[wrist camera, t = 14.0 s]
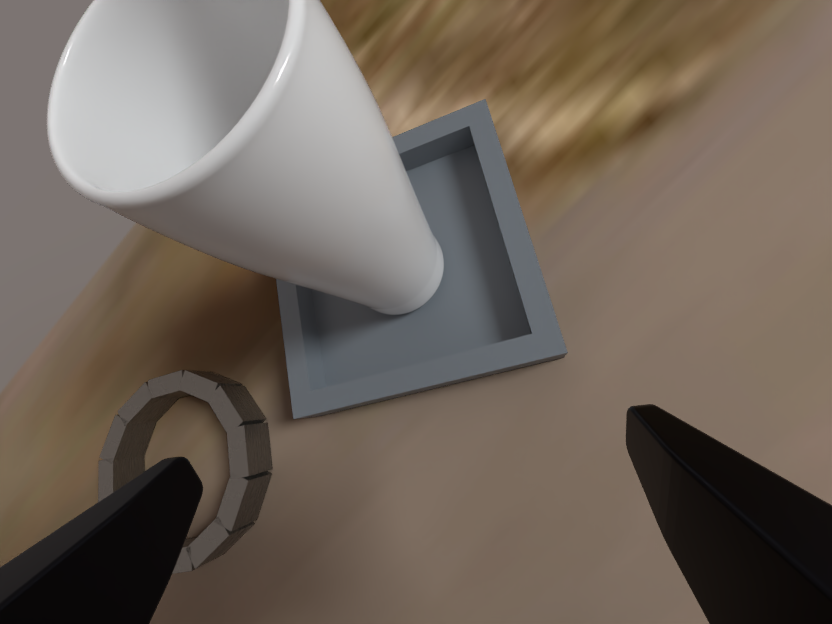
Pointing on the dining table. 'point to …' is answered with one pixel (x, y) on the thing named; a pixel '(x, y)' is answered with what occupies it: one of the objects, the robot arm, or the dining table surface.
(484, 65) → the dining table surface
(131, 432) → the holder ring
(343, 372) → the tray
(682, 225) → the dining table surface
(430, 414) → the dining table surface
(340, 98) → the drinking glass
